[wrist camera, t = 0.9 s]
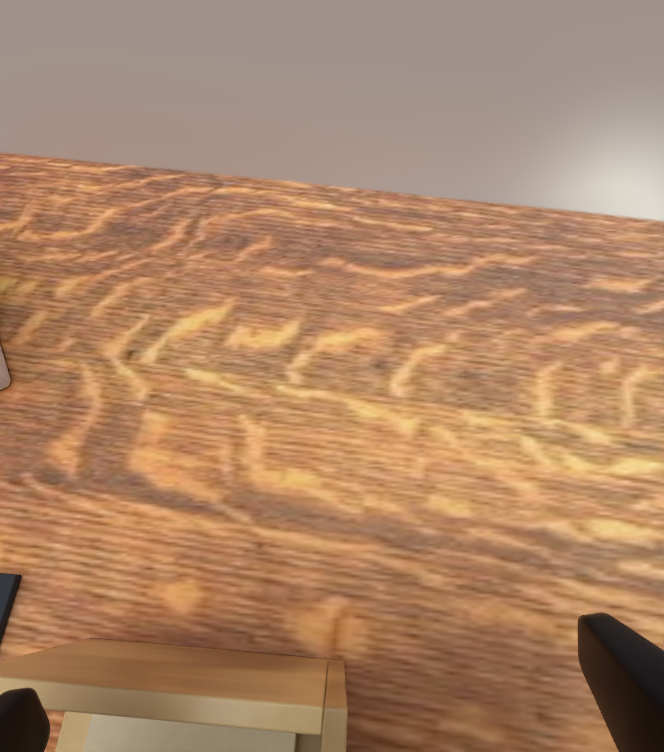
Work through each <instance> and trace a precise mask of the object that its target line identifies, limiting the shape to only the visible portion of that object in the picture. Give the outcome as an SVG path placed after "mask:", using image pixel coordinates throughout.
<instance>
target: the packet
mask: <svg viewBox="0 0 664 752" xmlns="http://www.w3.org/2000/svg"><path fill="white" fill-rule="evenodd" d="M297 739H298V733H288V732H278V731H267V730H257V729H246V728H236V727H225V726H215V725H204V724H193V723H183V722H172V721H162V720H151V719H141V718H130V717H120V716H109V715H99V714H92V715H91V719H90V723H89V727H88V732H87V736H86V740H85V744H84V749H83V752H296V751H297Z"/></svg>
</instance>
